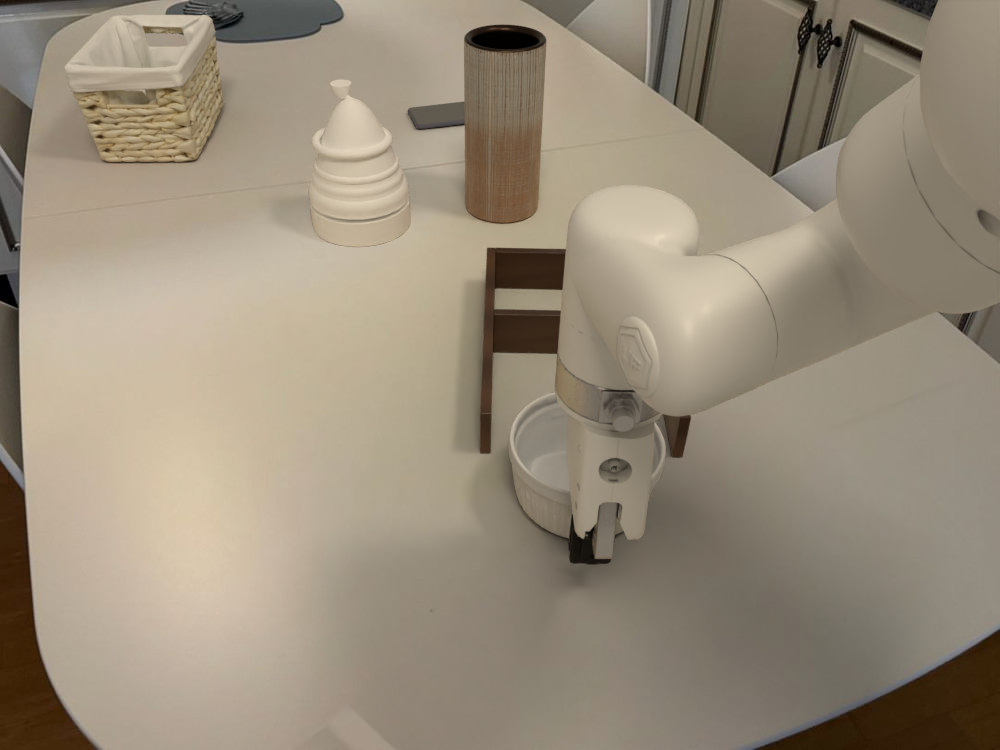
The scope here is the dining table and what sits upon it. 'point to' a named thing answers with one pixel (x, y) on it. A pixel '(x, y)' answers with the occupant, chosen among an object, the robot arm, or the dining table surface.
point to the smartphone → (438, 115)
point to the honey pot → (357, 178)
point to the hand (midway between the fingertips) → (588, 555)
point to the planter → (503, 121)
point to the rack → (531, 326)
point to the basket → (148, 88)
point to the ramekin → (552, 463)
